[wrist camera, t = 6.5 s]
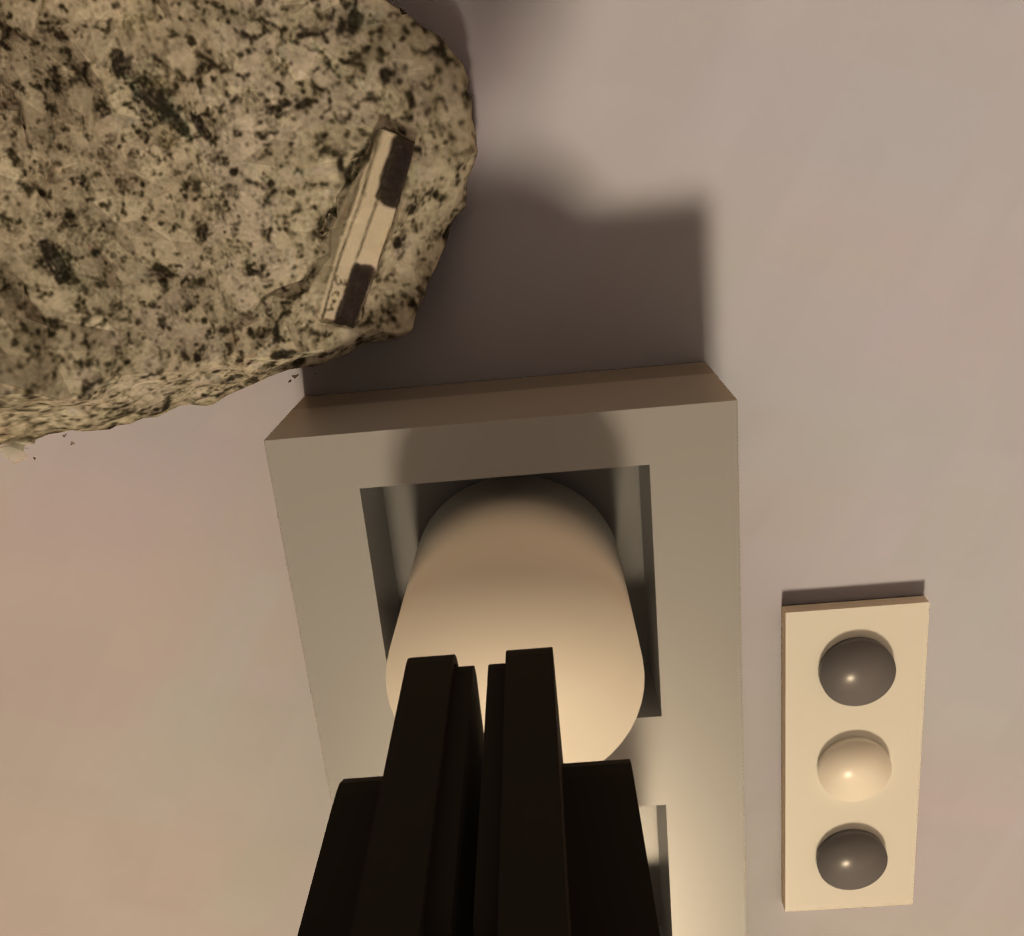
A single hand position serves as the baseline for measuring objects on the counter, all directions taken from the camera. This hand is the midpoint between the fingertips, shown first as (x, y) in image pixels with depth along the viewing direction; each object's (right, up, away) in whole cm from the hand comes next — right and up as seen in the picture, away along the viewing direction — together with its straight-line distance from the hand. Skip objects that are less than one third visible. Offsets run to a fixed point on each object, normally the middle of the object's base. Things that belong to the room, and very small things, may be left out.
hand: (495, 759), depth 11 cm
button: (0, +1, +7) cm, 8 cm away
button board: (+1, -5, +11) cm, 12 cm away
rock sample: (-5, +10, +7) cm, 13 cm away
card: (+8, -3, +10) cm, 13 cm away
